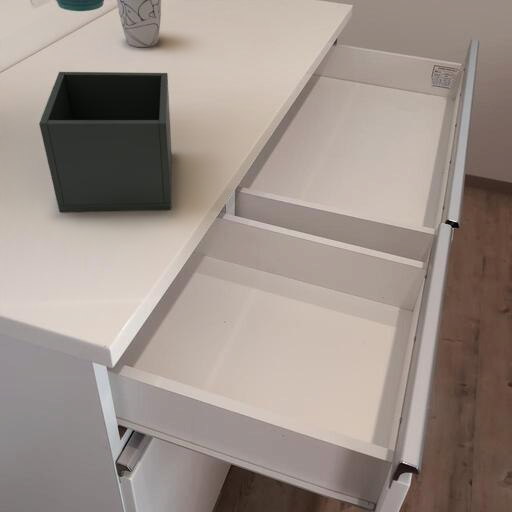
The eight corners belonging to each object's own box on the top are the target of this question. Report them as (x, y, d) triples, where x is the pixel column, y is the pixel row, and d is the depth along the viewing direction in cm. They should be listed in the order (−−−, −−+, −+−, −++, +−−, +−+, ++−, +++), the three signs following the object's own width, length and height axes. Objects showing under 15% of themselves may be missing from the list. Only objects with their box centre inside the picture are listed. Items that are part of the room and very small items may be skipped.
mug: (107, 33, 112) (100, -19, 105) (144, 27, 116) (140, -24, 109) (133, 52, 105) (128, -3, 98) (171, 45, 109) (168, -9, 103)
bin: (59, 212, 67) (39, 123, 59) (74, 154, 77) (58, 71, 69) (171, 209, 68) (166, 123, 61) (171, 153, 79) (167, 72, 71)
